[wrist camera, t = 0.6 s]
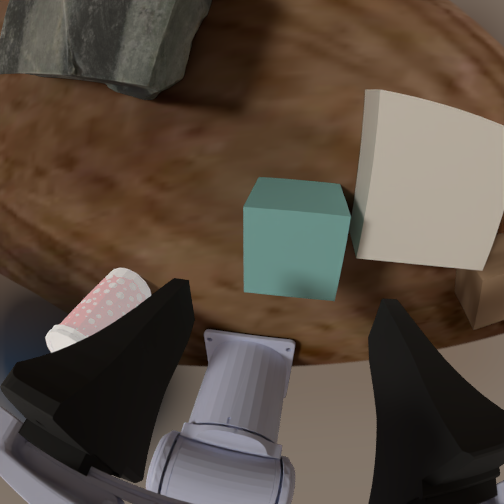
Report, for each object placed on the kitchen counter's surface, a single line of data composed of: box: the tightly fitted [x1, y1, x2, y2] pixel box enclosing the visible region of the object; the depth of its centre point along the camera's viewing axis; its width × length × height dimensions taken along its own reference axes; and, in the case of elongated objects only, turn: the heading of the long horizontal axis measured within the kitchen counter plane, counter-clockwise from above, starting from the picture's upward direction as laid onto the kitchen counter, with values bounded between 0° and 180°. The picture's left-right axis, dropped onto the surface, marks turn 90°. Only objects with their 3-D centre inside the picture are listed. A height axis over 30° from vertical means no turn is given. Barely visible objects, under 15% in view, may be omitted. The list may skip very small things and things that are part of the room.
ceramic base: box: [349, 90, 504, 271], centre depth 14 cm, size 9×9×4 cm
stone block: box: [0, 0, 212, 100], centre depth 12 cm, size 9×14×5 cm, turn 72°
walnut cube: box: [455, 233, 504, 330], centre depth 16 cm, size 4×4×4 cm
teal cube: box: [243, 177, 351, 301], centre depth 17 cm, size 5×5×5 cm
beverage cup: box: [46, 268, 151, 353], centre depth 19 cm, size 6×6×14 cm
